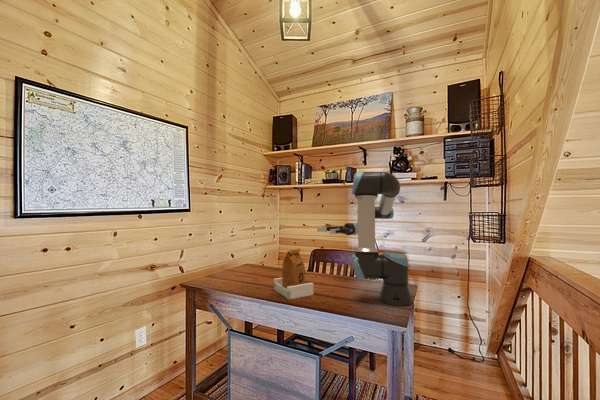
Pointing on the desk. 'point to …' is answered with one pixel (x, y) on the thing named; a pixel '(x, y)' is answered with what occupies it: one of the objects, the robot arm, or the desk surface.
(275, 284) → the tray
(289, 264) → the coffee package
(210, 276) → the desk surface
